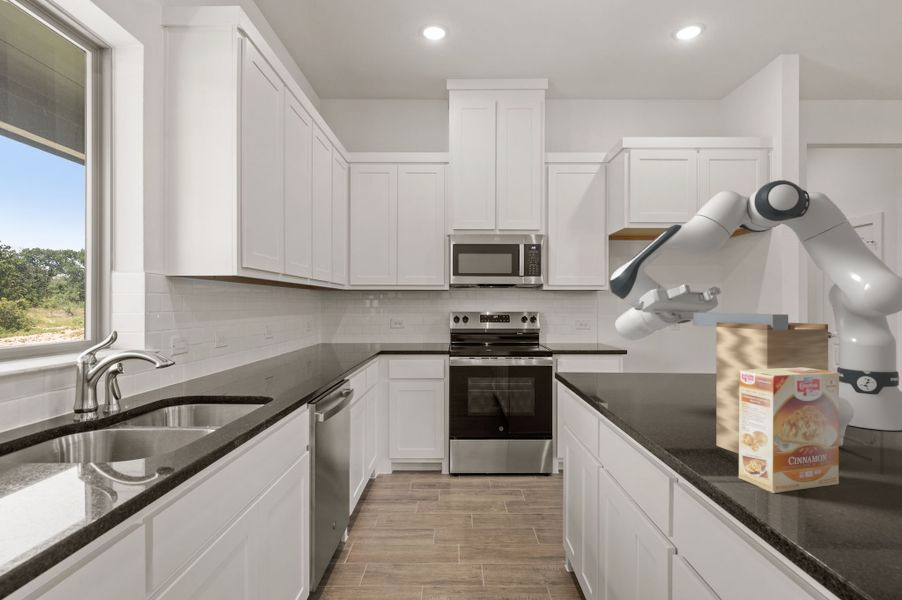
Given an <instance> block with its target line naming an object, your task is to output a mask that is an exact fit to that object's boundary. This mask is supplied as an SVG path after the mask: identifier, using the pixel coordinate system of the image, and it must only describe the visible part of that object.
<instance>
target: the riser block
mask: <svg viewBox="0 0 902 600" xmlns="http://www.w3.org/2000/svg"><path fill="white" fill-rule="evenodd" d="M715 328H716V331H715V332H716V333H715V334H716V335H715V336H716V337H715V338H716V339H715V340H716V343H715V345H716V346H715V347H716V349H715V350H716V354H715V355H716V358H715V359H716V379H715V380H716V388H715V390H716V394H715V395H716V408H715V409H716V420H715V421H716V423H715V424H716V426H715V427H716V447H719V448H722V449H724V450H728V451H731V452H733V453H736V454H738V455H739V370H749V369H776V368H799V367H804V368H811V369H820V370H827V371H829V323H807V322H805V323H804V322H788V330H771V325H763V324H743V323H722V322H716V327H715Z"/></svg>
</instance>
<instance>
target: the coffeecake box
mask: <svg viewBox="0 0 902 600" xmlns="http://www.w3.org/2000/svg"><path fill="white" fill-rule="evenodd" d="M839 447H840V446H839V373H838V372H837V371H832V370H828V371H827V370H820V369H811V368H804V367H799V368H776V369H749V370H739V454H738V479H740V480H741V481H745V482H747V483H750V484H751V485H754V486H756V487H758V488H760V489H762V490H764V491H767V492H769V493H772V494H777V493H784V492H793V491H799V490H806V489H813V488H820V487H826V486H835V485H836V486H837V485H839V484H840V481H839V479H840V478H839V477H840V476H839V474H840V473H839V472H840V471H839V469H840V468H839V467H840V465H839V464H840V463H839V462H840V461H839V460H840V459H839V457H840V455H839V454H840V451H839V450H840V449H839Z"/></svg>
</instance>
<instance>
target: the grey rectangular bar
mask: <svg viewBox="0 0 902 600" xmlns="http://www.w3.org/2000/svg"><path fill="white" fill-rule="evenodd" d="M716 322H722V323H743V324H763V325H771V330H788V323H789V314H787V313H786V314H783V313H782V314H777V313H774V314H773V313H745V312H744V313H741V312H740V313H738V312H734V313H733V312H706V313H693V321H692V325H693V326H700V327H701V326H702V327H715V328H716Z"/></svg>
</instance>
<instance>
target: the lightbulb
mask: <svg viewBox="0 0 902 600" xmlns="http://www.w3.org/2000/svg"><path fill="white" fill-rule="evenodd" d="M853 415H854V410H853V407H852V406H851V404H850V403H849V402H848V401H846V400H845V399H843V398H840V397H839V447H841V446H843V445H844V437H845V435H846V428H847V427H848V426H849V425H848V424H849V422H850V421H851V419H852V418H853Z"/></svg>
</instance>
